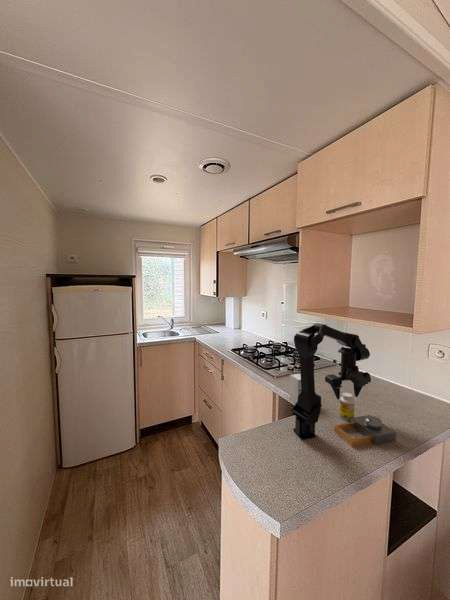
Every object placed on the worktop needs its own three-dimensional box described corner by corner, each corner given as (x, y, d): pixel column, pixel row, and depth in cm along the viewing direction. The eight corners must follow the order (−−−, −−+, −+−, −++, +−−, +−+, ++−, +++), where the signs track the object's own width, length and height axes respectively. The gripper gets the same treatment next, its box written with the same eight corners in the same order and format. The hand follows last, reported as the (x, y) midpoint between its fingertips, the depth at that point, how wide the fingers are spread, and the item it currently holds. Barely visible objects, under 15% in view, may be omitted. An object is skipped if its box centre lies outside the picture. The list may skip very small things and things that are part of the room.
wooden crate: (354, 449, 86) (354, 434, 86) (332, 429, 98) (332, 415, 97) (395, 441, 90) (396, 426, 90) (369, 423, 102) (369, 410, 102)
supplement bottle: (336, 414, 109) (337, 392, 108) (347, 413, 110) (348, 391, 109) (345, 421, 103) (346, 398, 102) (356, 420, 104) (357, 396, 103)
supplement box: (297, 405, 117) (297, 379, 116) (289, 398, 124) (289, 374, 123) (310, 403, 119) (311, 378, 118) (302, 396, 126) (302, 372, 125)
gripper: (342, 370, 95) (341, 410, 96) (382, 367, 99) (381, 404, 100) (324, 361, 105) (323, 397, 107) (361, 358, 110) (360, 392, 111)
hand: (347, 397), depth 106 cm, fingers open, 9 cm apart
